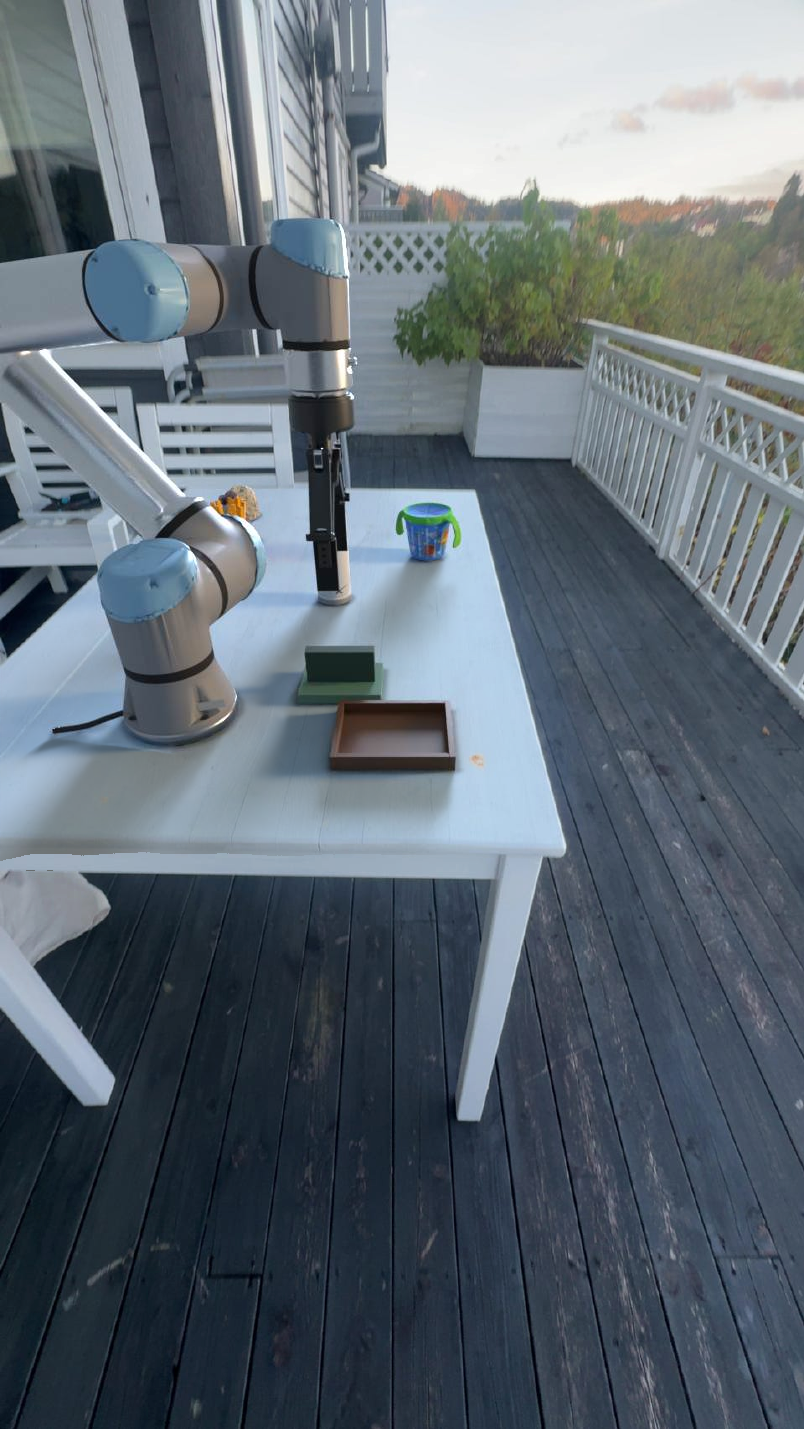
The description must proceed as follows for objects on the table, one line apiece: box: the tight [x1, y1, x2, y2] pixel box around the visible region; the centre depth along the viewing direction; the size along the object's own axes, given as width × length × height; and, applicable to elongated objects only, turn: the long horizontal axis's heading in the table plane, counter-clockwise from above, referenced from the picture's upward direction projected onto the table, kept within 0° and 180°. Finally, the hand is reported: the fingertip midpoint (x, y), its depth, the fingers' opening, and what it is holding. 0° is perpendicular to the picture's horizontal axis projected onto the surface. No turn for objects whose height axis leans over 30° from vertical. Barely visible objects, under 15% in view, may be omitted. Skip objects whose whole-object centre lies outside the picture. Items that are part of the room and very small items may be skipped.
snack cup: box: [395, 502, 462, 562], centre depth 134 cm, size 16×10×10 cm
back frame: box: [329, 699, 457, 771], centre depth 83 cm, size 16×13×2 cm
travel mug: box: [317, 491, 352, 606], centre depth 114 cm, size 6×7×20 cm
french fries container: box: [209, 496, 246, 521], centre depth 128 cm, size 7×9×14 cm
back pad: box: [297, 645, 384, 705], centre depth 92 cm, size 12×9×6 cm
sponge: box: [221, 485, 260, 522], centre depth 159 cm, size 9×10×10 cm
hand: (333, 569), depth 83 cm, fingers open, 13 cm apart
